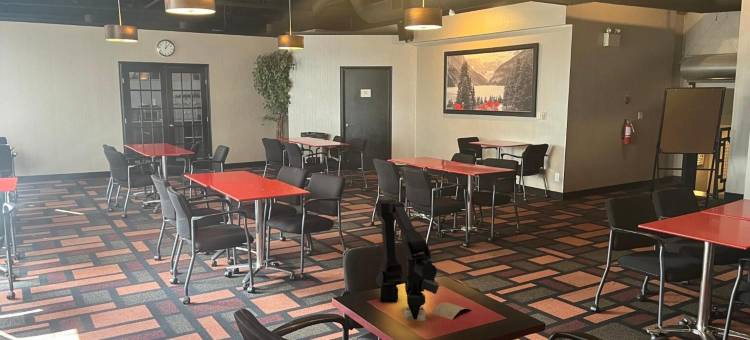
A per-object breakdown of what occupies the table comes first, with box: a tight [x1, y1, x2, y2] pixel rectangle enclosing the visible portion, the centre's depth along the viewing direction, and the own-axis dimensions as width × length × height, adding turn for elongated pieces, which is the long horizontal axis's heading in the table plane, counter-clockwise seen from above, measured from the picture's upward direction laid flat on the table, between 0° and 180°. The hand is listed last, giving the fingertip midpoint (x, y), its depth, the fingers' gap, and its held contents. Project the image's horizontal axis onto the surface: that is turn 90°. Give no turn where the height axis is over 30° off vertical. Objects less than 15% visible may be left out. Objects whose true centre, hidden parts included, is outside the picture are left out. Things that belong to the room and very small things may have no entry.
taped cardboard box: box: [403, 305, 426, 322], centre depth 210 cm, size 7×5×4 cm
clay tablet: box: [431, 302, 471, 321], centre depth 216 cm, size 14×10×3 cm
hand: (414, 314), depth 210 cm, fingers open, 9 cm apart
